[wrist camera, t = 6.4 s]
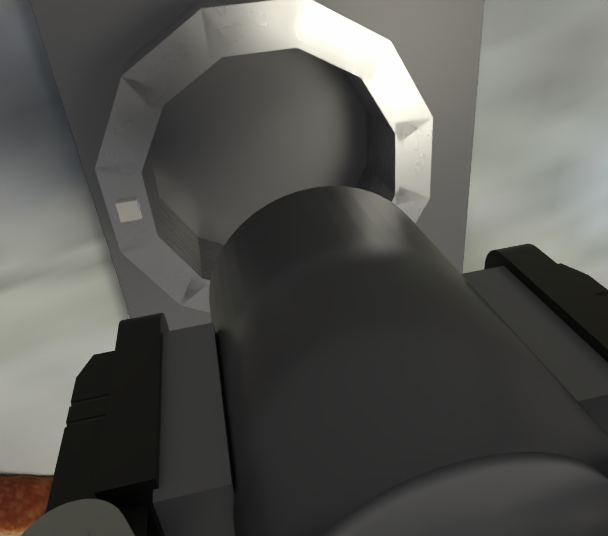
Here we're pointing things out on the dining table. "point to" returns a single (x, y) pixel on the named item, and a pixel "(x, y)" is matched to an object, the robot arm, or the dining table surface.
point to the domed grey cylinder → (375, 390)
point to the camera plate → (264, 119)
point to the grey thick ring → (197, 59)
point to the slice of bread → (22, 502)
